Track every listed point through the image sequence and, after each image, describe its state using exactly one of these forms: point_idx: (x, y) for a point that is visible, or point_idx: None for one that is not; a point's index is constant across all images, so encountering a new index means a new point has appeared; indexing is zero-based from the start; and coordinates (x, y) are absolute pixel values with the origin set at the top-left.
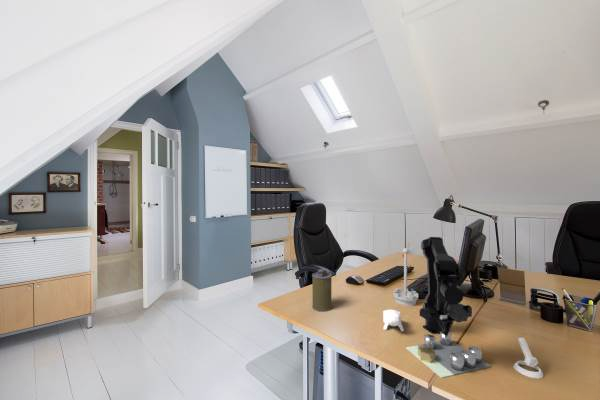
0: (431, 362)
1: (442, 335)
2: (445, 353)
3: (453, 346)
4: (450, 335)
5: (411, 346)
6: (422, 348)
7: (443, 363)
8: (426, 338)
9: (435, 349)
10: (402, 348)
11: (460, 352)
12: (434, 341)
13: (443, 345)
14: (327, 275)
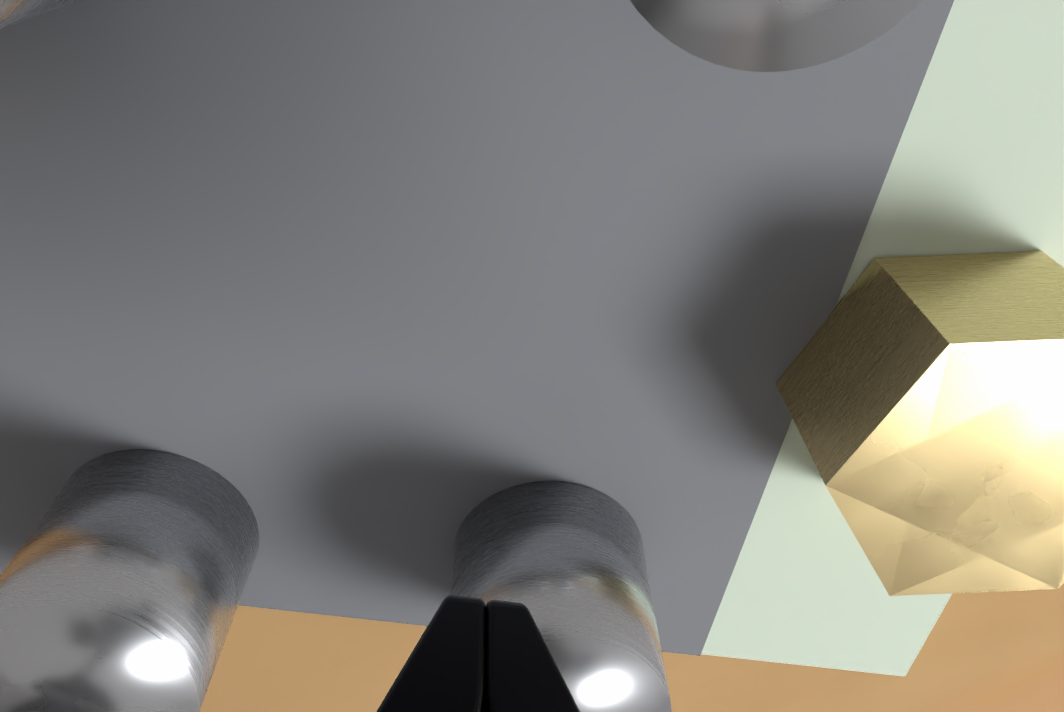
0: (994, 247)
1: (202, 668)
2: (457, 327)
3: (89, 412)
4: (25, 609)
5: (804, 662)
6: (1019, 536)
7: (832, 116)
8: (670, 708)
9: (520, 477)
10: (953, 675)
11: (113, 223)
12: (548, 599)
13: (261, 500)
14: None
